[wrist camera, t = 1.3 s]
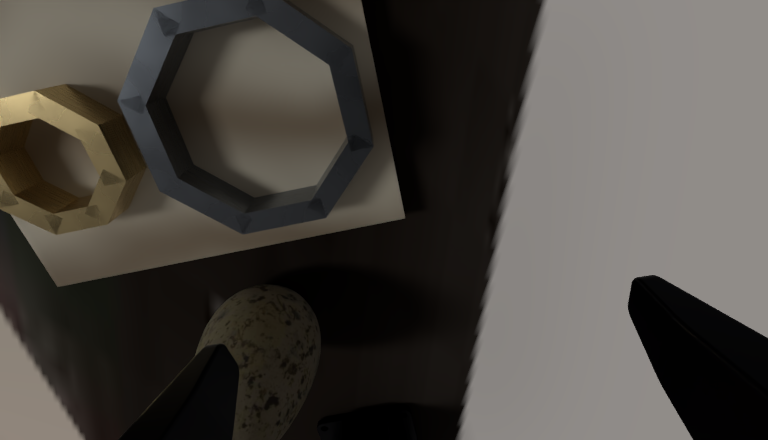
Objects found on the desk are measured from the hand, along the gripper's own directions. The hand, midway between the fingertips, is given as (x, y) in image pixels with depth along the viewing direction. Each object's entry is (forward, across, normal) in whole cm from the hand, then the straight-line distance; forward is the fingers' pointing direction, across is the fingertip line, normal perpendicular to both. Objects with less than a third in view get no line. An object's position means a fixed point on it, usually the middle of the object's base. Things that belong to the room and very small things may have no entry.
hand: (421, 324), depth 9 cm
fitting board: (+13, +10, -1) cm, 17 cm away
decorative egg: (+12, +9, +10) cm, 18 cm away
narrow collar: (+13, +15, -1) cm, 20 cm away
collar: (+14, +6, -1) cm, 15 cm away
